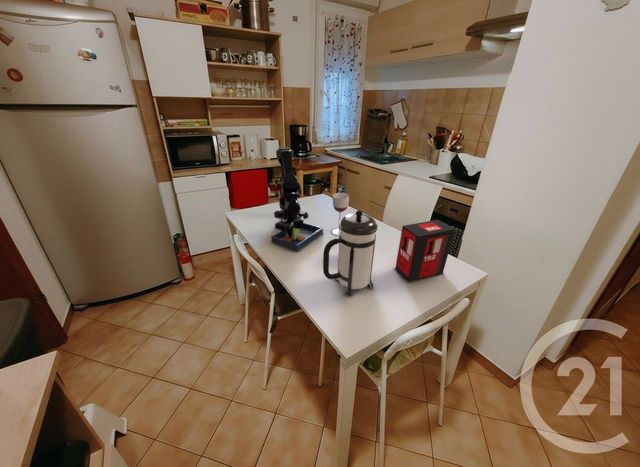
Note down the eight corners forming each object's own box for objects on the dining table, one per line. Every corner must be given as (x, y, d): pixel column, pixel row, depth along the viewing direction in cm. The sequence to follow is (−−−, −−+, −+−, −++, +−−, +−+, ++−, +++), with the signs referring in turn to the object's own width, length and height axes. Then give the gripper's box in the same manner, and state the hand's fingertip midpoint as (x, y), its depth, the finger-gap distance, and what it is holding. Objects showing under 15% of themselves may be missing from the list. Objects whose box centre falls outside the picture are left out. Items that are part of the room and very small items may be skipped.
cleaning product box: (408, 282, 100) (418, 236, 91) (395, 269, 108) (402, 225, 98) (442, 273, 106) (455, 229, 96) (427, 261, 113) (437, 219, 104)
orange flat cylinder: (286, 238, 129) (286, 236, 129) (293, 240, 127) (293, 238, 127) (281, 241, 126) (281, 239, 126) (288, 243, 124) (287, 241, 124)
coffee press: (340, 267, 109) (343, 199, 95) (377, 277, 103) (387, 206, 89) (322, 292, 95) (322, 216, 81) (364, 306, 89) (373, 227, 75)
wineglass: (329, 234, 135) (330, 197, 125) (334, 227, 142) (336, 191, 132) (344, 237, 132) (346, 199, 123) (349, 229, 139) (351, 194, 130)
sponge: (291, 234, 132) (291, 226, 130) (299, 237, 130) (299, 229, 128) (286, 237, 130) (286, 229, 127) (294, 240, 127) (294, 232, 125)
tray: (298, 226, 143) (298, 220, 141) (322, 233, 135) (323, 227, 134) (271, 242, 127) (271, 236, 125) (297, 251, 119) (297, 245, 118)
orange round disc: (299, 236, 130) (299, 235, 130) (306, 238, 129) (306, 237, 128) (295, 240, 127) (295, 238, 127) (302, 242, 126) (302, 240, 125)
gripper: (290, 197, 133) (292, 224, 140) (264, 209, 119) (267, 239, 126) (308, 201, 127) (309, 230, 135) (283, 214, 114) (285, 245, 121)
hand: (293, 235), depth 129 cm, fingers closed on sponge, 4 cm apart
